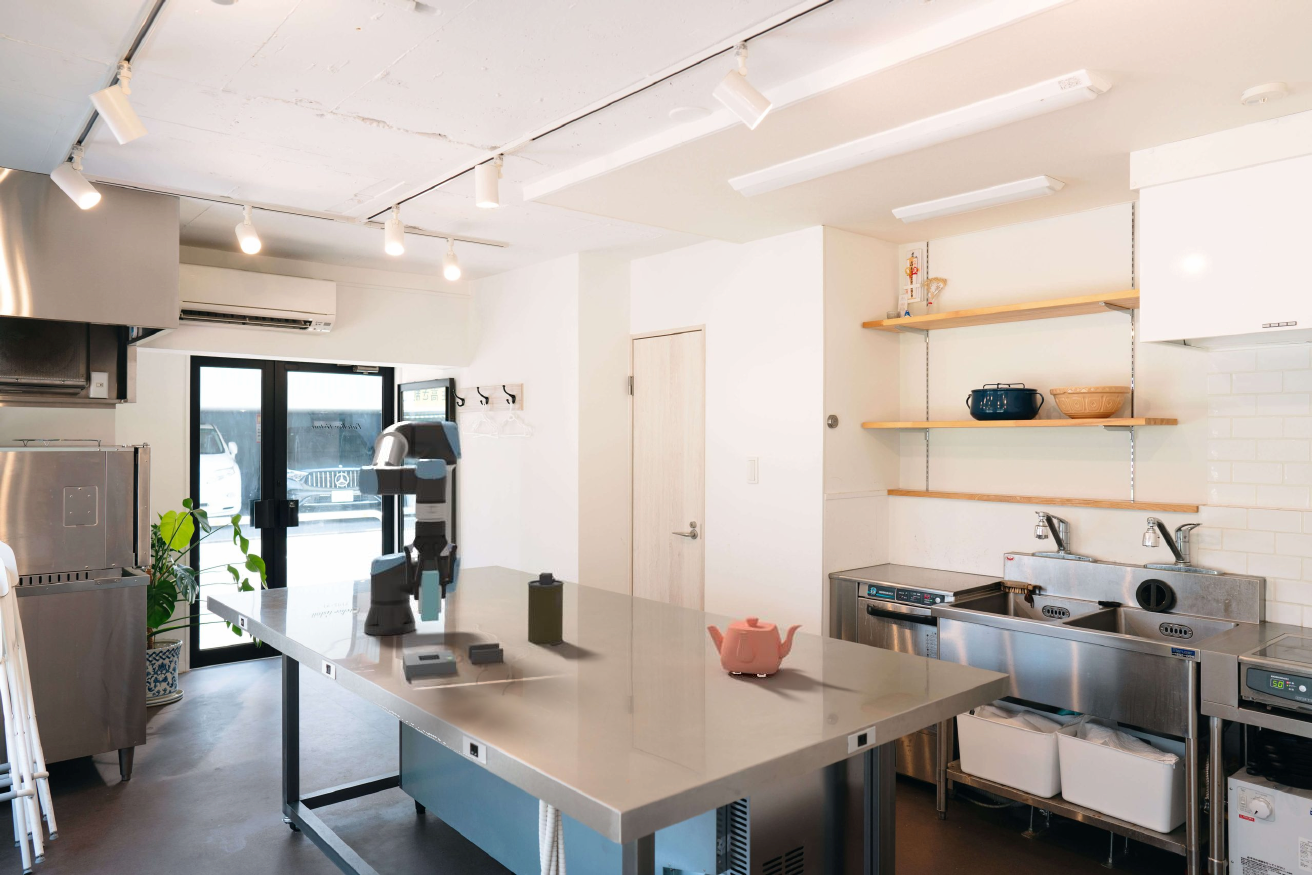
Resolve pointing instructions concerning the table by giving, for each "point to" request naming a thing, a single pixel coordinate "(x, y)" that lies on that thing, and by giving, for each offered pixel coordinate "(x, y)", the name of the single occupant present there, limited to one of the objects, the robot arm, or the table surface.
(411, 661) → the port
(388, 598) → the robot arm
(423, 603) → the plug
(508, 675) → the table surface
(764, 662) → the teapot
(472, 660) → the holster
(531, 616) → the canister
